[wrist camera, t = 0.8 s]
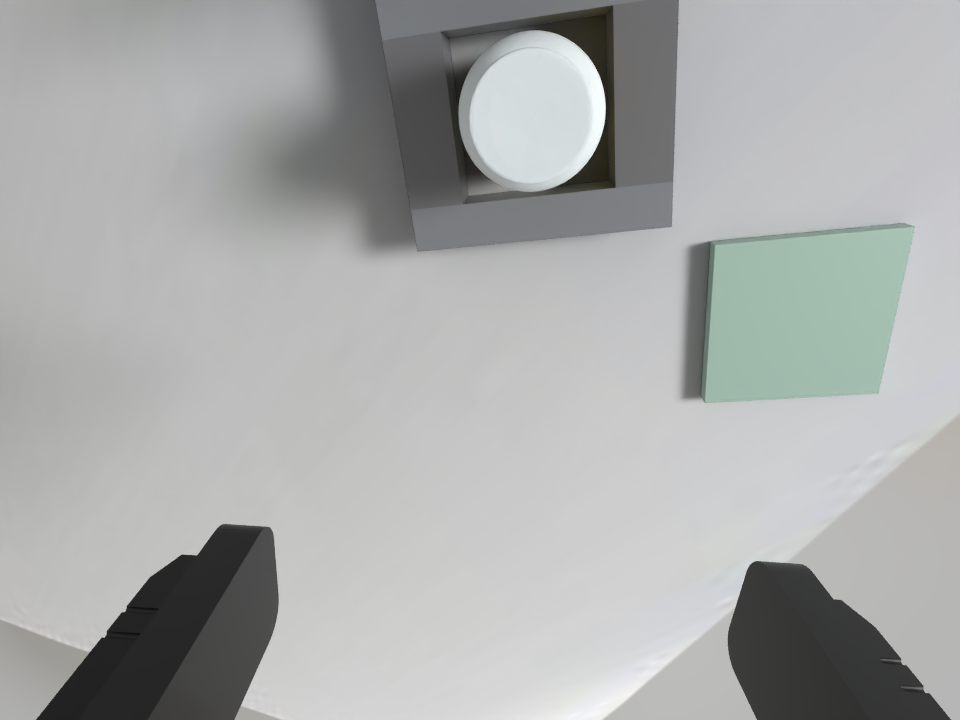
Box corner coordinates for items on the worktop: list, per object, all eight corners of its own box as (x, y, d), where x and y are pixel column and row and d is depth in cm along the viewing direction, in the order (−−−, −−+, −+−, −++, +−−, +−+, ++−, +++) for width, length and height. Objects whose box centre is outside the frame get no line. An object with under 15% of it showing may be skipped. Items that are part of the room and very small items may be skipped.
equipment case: (369, -114, 22) (176, -369, 10) (668, -172, 21) (855, -551, 9) (426, 239, 29) (347, 341, 16) (660, 216, 27) (762, 309, 15)
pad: (710, 241, 27) (715, 244, 27) (904, 223, 26) (915, 226, 25) (700, 396, 31) (705, 403, 30) (870, 386, 30) (878, 393, 29)
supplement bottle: (489, 33, 24) (464, -4, 16) (604, 61, 24) (642, 40, 16) (465, 157, 27) (432, 184, 18) (570, 183, 27) (588, 221, 18)
